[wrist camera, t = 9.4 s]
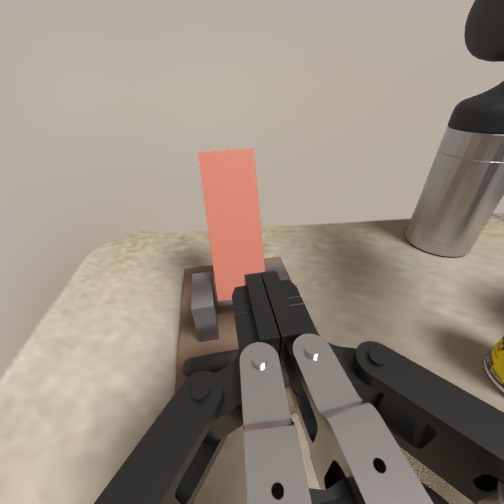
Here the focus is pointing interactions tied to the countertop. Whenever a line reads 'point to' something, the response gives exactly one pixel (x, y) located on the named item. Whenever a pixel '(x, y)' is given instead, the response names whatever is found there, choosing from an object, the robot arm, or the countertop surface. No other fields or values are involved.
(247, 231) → the lever
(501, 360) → the supplement bottle
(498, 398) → the countertop surface
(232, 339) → the switch board
